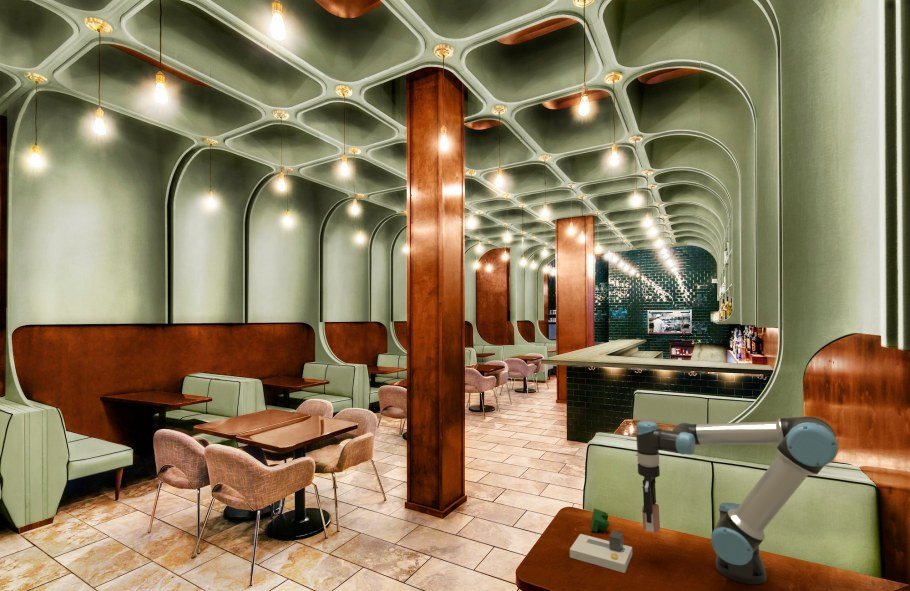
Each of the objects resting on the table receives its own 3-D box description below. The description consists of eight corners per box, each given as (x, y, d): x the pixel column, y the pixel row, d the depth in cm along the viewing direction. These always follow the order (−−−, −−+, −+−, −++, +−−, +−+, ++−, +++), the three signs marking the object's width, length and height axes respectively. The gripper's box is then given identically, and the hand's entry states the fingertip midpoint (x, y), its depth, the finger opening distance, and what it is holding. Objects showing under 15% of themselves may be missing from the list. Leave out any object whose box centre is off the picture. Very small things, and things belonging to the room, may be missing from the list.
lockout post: (659, 527, 165) (658, 505, 165) (658, 533, 161) (656, 510, 161) (645, 524, 168) (644, 502, 168) (643, 529, 163) (642, 507, 164)
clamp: (604, 542, 187) (609, 527, 184) (589, 537, 189) (594, 522, 185) (605, 520, 198) (610, 506, 194) (591, 515, 199) (596, 501, 196)
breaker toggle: (623, 545, 170) (622, 533, 170) (620, 551, 166) (620, 539, 166) (612, 543, 172) (612, 530, 172) (609, 548, 168) (609, 536, 168)
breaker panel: (632, 555, 169) (632, 544, 170) (624, 573, 158) (624, 561, 158) (580, 541, 180) (580, 531, 180) (569, 557, 168) (569, 546, 168)
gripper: (641, 456, 175) (644, 516, 174) (633, 469, 160) (635, 535, 159) (662, 458, 171) (665, 520, 170) (655, 473, 156) (658, 540, 155)
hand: (651, 527), depth 164 cm, fingers closed on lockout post, 5 cm apart
